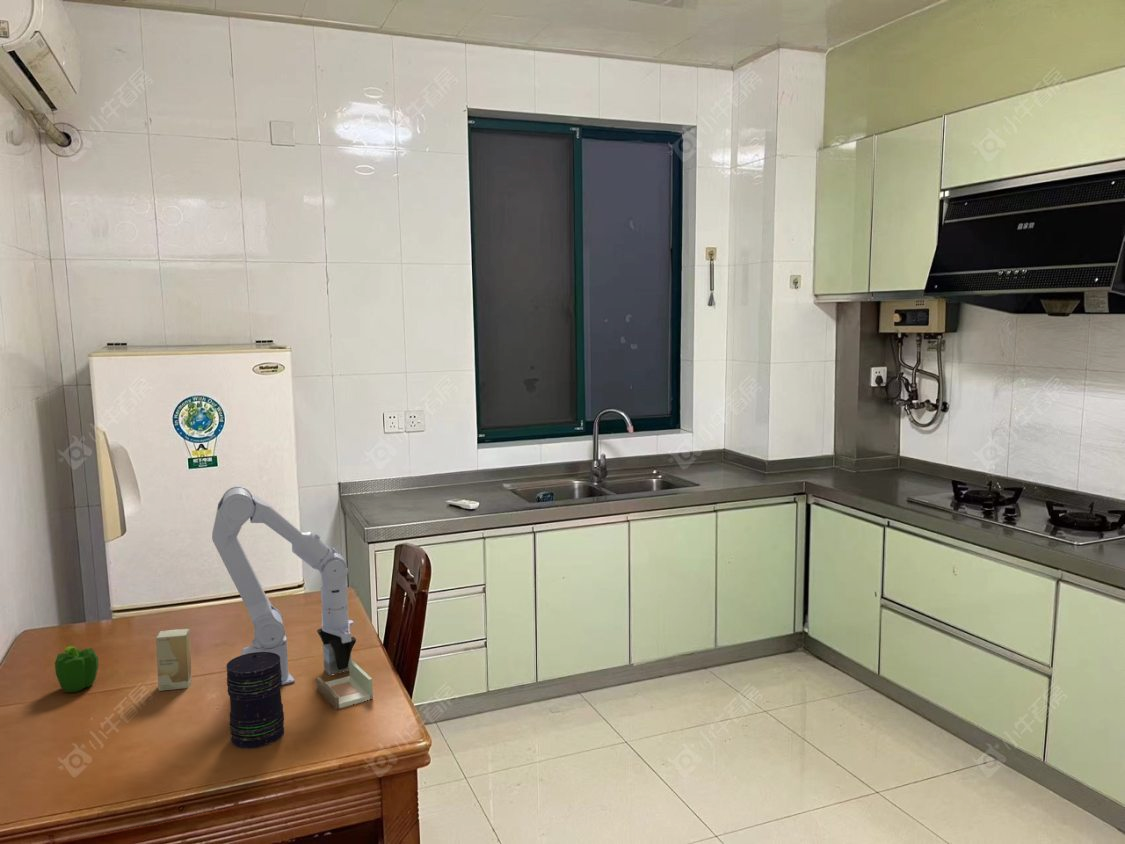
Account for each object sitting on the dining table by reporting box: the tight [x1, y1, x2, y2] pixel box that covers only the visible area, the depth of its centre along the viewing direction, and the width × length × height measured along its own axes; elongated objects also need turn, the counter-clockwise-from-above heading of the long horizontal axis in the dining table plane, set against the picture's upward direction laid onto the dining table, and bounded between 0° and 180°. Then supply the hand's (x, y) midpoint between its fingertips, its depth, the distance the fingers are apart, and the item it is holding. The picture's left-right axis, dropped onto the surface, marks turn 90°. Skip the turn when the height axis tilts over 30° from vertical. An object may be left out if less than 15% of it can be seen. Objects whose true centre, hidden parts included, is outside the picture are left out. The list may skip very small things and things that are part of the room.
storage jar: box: [226, 652, 285, 750], centre depth 157 cm, size 10×10×15 cm
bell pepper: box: [54, 645, 99, 693], centre depth 180 cm, size 8×8×10 cm
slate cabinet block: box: [322, 644, 352, 676], centre depth 188 cm, size 5×4×6 cm
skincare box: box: [156, 628, 193, 692], centre depth 180 cm, size 6×4×12 cm
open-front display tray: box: [316, 659, 374, 710], centre depth 175 cm, size 8×12×4 cm, turn 34°
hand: (337, 663), depth 188 cm, fingers open, 6 cm apart
